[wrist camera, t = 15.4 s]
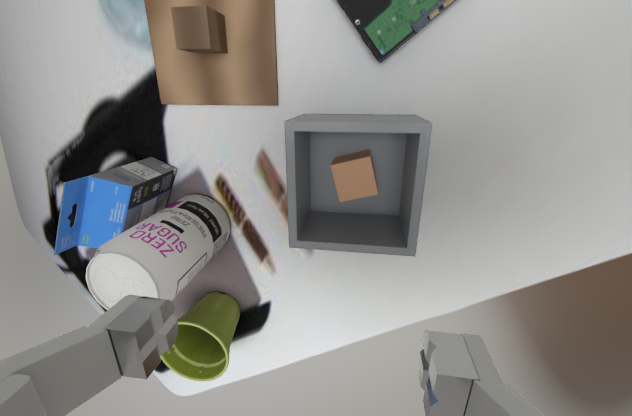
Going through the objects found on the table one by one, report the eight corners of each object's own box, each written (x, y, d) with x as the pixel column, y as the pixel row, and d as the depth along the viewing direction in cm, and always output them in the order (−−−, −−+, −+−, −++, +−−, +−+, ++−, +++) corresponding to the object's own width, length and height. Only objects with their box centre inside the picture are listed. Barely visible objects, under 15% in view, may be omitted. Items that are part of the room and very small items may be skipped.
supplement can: (180, 247, 44) (93, 320, 30) (170, 191, 41) (68, 243, 27) (235, 251, 42) (171, 329, 29) (228, 193, 40) (154, 249, 26)
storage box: (415, 114, 33) (432, 123, 25) (404, 219, 37) (415, 256, 29) (304, 113, 35) (284, 121, 26) (305, 213, 39) (289, 247, 31)
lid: (274, -46, 30) (257, -71, 26) (279, 104, 35) (266, 106, 31) (143, -38, 32) (106, -60, 28) (166, 103, 37) (138, 105, 33)
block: (369, 149, 34) (370, 156, 30) (376, 183, 35) (378, 194, 31) (334, 157, 35) (330, 165, 31) (342, 190, 36) (339, 202, 32)
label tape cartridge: (162, 224, 43) (88, 273, 31) (137, 212, 43) (53, 256, 31) (178, 168, 39) (102, 200, 28) (150, 154, 39) (62, 181, 28)
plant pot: (222, 270, 44) (190, 310, 36) (264, 317, 46) (242, 365, 38) (180, 298, 47) (141, 341, 39) (220, 341, 49) (192, 390, 41)
